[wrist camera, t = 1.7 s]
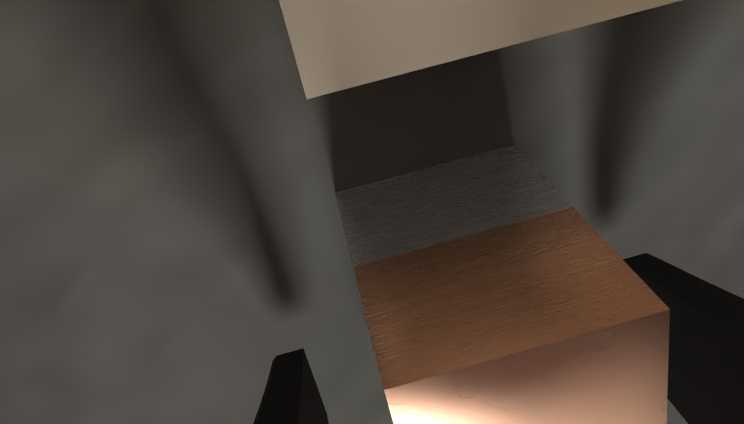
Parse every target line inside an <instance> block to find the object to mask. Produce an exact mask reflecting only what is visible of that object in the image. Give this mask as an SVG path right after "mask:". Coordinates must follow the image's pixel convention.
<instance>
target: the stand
mask: <svg viewBox="0 0 744 424" xmlns="http://www.w3.org/2000/svg"><path fill="white" fill-rule="evenodd" d="M678 1H681V0H279V2H280V6H281V9H282V13H283V16H284V20H285V24H286V27H287V31H288V34H289V38H290V41H291V45H292V49H293V52H294V56H295V59H296V63H297V66H298V70H299V73H300V77H301V81H302V84H303V88H304V91H305V95H306V98H307V99H310V98H314V97H317V96H321V95H325V94H329V93H333V92H336V91H340V90H344V89H348V88H352V87H355V86H359V85H363V84H367V83H370V82H374V81H378V80H382V79H386V78H389V77H393V76H397V75H401V74H405V73H408V72H412V71H416V70H420V69H424V68H427V67H431V66H435V65H439V64H443V63H446V62H450V61H454V60H458V59H462V58H465V57H469V56H473V55H477V54H480V53H484V52H488V51H492V50H496V49H499V48H503V47H507V46H511V45H515V44H518V43H522V42H526V41H530V40H534V39H537V38H541V37H545V36H549V35H553V34H556V33H560V32H564V31H568V30H572V29H575V28H579V27H583V26H587V25H590V24H594V23H598V22H602V21H606V20H609V19H613V18H617V17H621V16H625V15H628V14H632V13H636V12H640V11H644V10H647V9H651V8H655V7H659V6H663V5H666V4H670V3H674V2H678Z"/></svg>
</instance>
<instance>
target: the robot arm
mask: <svg viewBox="0 0 744 424" xmlns="http://www.w3.org/2000/svg"><path fill="white" fill-rule="evenodd" d="M623 260H624V261H625V263H626V264H627V265H628V266H629V267H630V268H631V269H632V270H633V271H634V272H635V273H636V274H637V275H638V276H639V277H640V278H641V279H642V280H643V281H644V283H645V284H646V285H647V286H648V287H649V288H650V289H651V290H652V291H653V292H654V293H655V294H656V295H657V296H658V297H659V298H660V299H661V300H662V301H663V303H664V304H665V305H666V306H667V307H668V308H669V309H670V324H669V357H668V391H667V398H668V399H669V400H670V402H671V403H672V404H673V405H674V407H675V408H676V409H677V410H678V412H679V413H680V414H681V415H682V416H683V418H684V419H685V420H686V421H687V423H688V424H744V299H743V298H741V297H738V296H736V295H734V294H732V293H729V292H727V291H725V290H723V289H721V288H719V287H716V286H714V285H712V284H710V283H708V282H706V281H704V280H702V279H700V278H698V277H696V276H693V275H691V274H689V273H687V272H685V271H683V270H681V269H679V268H677V267H675V266H673V265H671V264H669V263H667V262H665V261H662V260H660V259H658V258H656V257H654V256H652V255H649V254H647V253H645V254H641V255H637V256H634V257H630V258H627V259H623ZM253 424H329V423H328V418H327V413H326V410H325V407H324V405H323V402H322V399H321V396H320V393H319V391H318V388H317V385H316V382H315V380H314V377H313V374H312V371H311V368H310V366H309V363H308V360H307V357H306V354H305V352H304V349H300V350H296V351H292V352H289V353H285V354H282V355H278V356H276V357H275V359H274V360H273V362H272V366H271V370H270V374H269V378H268V381H267V385H266V388H265V391H264V394H263V397H262V401H261V404H260V407H259V410H258V412H257V415H256V418H255V420H254V423H253Z"/></svg>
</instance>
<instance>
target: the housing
mask: <svg viewBox="0 0 744 424" xmlns="http://www.w3.org/2000/svg"><path fill="white" fill-rule="evenodd" d="M335 194H336V198H337V202H338V206H339V210H340V214H341V218H342V222H343V226H344V230H345V234H346V238H347V242H348V246H349V250H350V254H351V258H352V262H353V266H354V270H355V274H356V278H357V282H358V287H359V291H360V295H361V299H362V303H363V307H364V311H365V315H366V319H367V323H368V327H369V331H370V335H371V339H372V343H373V347H374V351H375V355H376V359H377V363H378V367H379V371H380V375H381V379H382V383H383V387H384V391H385V395H386V398H387V402H388V405H389V409H390V412H391V416H392V419H393V423H394V424H667V391H668V357H669V324H670V309H669V308H668V307H667V306H666V305H665V304H664V303H663V301H662V300H661V299H660V298H659V297H658V296H657V295H656V294H655V293H654V292H653V291H652V290H651V289H650V288H649V287H648V286H647V285H646V284H645V283H644V281H643V280H642V279H641V278H640V277H639V276H638V275H637V274H636V273H635V272H634V271H633V270H632V269H631V268H630V267H629V266H628V265H627V264H626V263H625V261H624V260H623V259H622V258H621V257H620V256H619V255H618V254H617V253H616V252H615V251H614V250H613V249H612V248H611V247H610V246H609V245H608V244H607V243H606V241H605V240H604V239H603V238H602V237H601V236H600V235H599V234H598V233H597V232H596V231H595V230H594V229H593V228H592V227H591V226H590V225H589V224H588V223H587V221H586V220H585V219H584V218H583V217H582V216H581V215H580V214H579V213H578V212H577V211H576V210H575V209H574V208H573V207H572V206H571V205H570V204H569V203H568V202H567V200H566V199H565V198H564V197H563V196H562V195H561V194H560V193H559V192H558V191H557V190H556V189H555V188H554V187H553V186H552V185H551V184H550V183H549V182H548V180H547V179H546V178H545V177H544V176H543V175H542V174H541V173H540V172H539V171H538V170H537V169H536V168H535V167H534V166H533V165H532V164H531V163H530V162H529V160H528V159H527V158H526V157H525V156H524V155H523V154H522V153H521V152H520V151H519V150H518V149H517V148H516V147H515V146H514V145H510V146H506V147H502V148H499V149H495V150H491V151H488V152H484V153H480V154H476V155H473V156H469V157H465V158H462V159H458V160H454V161H451V162H447V163H443V164H439V165H436V166H432V167H428V168H425V169H421V170H417V171H413V172H410V173H406V174H402V175H399V176H395V177H391V178H387V179H384V180H380V181H376V182H373V183H369V184H365V185H361V186H358V187H354V188H350V189H347V190H343V191H339V192H336V193H335Z"/></svg>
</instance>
